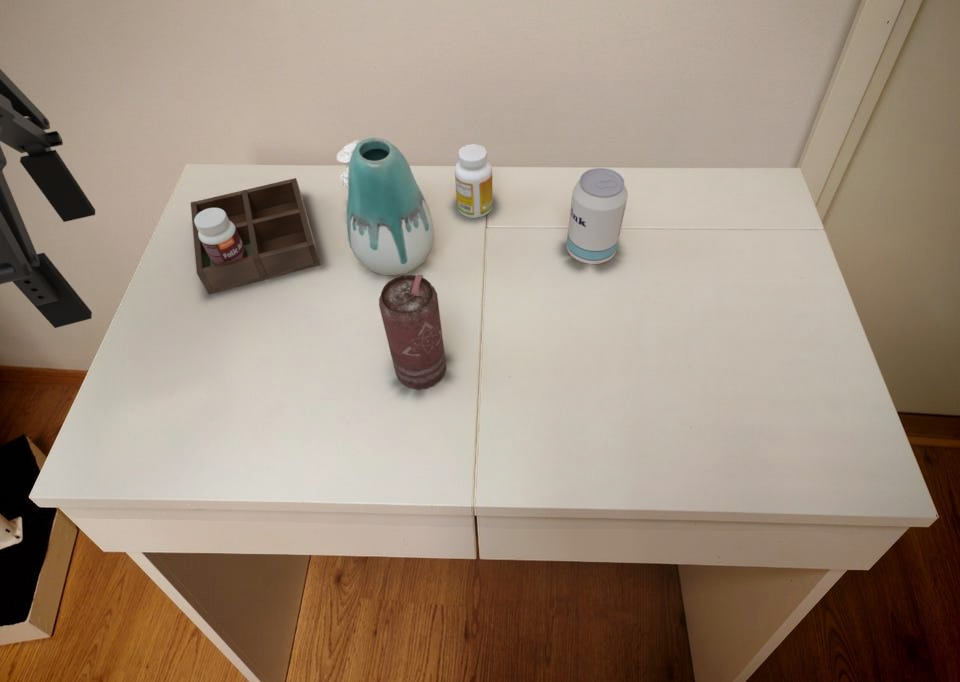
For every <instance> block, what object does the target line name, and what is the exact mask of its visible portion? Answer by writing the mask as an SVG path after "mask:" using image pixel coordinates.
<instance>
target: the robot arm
mask: <svg viewBox="0 0 960 682" xmlns="http://www.w3.org/2000/svg"><path fill="white" fill-rule="evenodd" d="M50 129H51V125H50V120H49V119H48V118H47V117H46V116H45V114H44V113H43V112H42V111H41V110H40V108H39V107H37V106H36V105H35V104H34V103H33V102H32V101H31V100H30V98H28V97H27V95H26V94H25V93H24V92H23V91H22V90H21V89H20V88H19V87H18V86H17V84H15V83H14V82H13V80H11V78H10V77H8V75H7V74H6V73H5V72H4V71H3V70H2V69H1V68H0V143H3V144H4V145H6V146H8V147H10V148H11V149H13V150H15V151H16V152H18V153H20V154H24V153H26V154H27V155H23V156H20V158H19V163H20V164H21V165H22V167H23V168H24V170H25V171H26V172H27V174H28V175H29V176H30V178H31V179H32V181H33V182H34V183H35V185H36V186H37V188H38V189H39V191H40V192H41V193H42V194H43V195H44V197H45V199H46V200H47V201H48V203H49V204H50V205H51V207H52V208H53V209H54V211H55V212H56V214H57V215H58V216H59V218H60V219H61V220H62V222H63V223H66V222H70V221H76V220H79V219H83V218H89V217H93V216H96V209H95V207H94V206H93V204H92V203H91V201H90V200H89V198H88V197H87V195H86V193H85V192H84V191H83V189H82V188H81V186H80V185H79V183H78V181H77V180H76V178H75V177H74V175H73V174H72V173H71V171H70V170H69V168H68V166H67V165H66V163H65V162H64V160H63V158H62V157H61V155H60V154H59V153H58V152H57V150H56V149H53V150H52V149H51V148H55V147H59V146H63V144H64V143H63V138H62V137H61V134H60V132H58V131H57V130H54V131H49V132H47V131H46V130H50ZM7 163H8V161H7V158H6V155H5V153H4V151H3V149H2V146H1V145H0V285H3V284H7V283H11V282H12V283H13V284H14V285H15V286H16V287H17V288H18V290H19V291H20V292H21V293H22V294H23V295H24V296H25V297H26V298H27V300H28V301H29V302H30V303H32V305H33V306H34V307H35V309H36V310H38V312H39V313H40V314H41V315H42V316H43V317H44V318H45V319H46V321H48V322H49V323H50V325H51V326H52V327H53V328H54V329H57V328H62V327H65V326H68V325H73V324H76V323H80V322H84V321H87V320H91V319H92V316H93V315H92V314H93V313H92V310H91V309H90V308H89V306H88V305H87V304H86V303H85V302H84V300H83V299H82V298H81V297H80V295H79V294H78V293H77V291H76V290H75V289H74V288H73V286H72V285H71V284H70V283H69V281H68V280H67V279H66V278H65V277H64V275H63V274H62V273H61V271H60V270H59V269H58V267H56V266H55V264H54V263H53V262H52V261H51V260H50V258H49V257H48V256H47V254H46V253H45V252H41V253H37V251H36V249H35V245H34V243H33V240H32V239H31V237H30V234H29V232H28V229H27V227H26V224H25V222H24V220H23V218H22V215H21V213H20V210H19V208H18V205H17V203H16V200H15V198H14V196H13V193H12V191H11V188H10V186H9V184H8V181H7V179H6V177H5V174H4V172H3V170H4V169H5V167H6V166H7Z"/></svg>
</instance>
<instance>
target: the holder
mask: <svg viewBox="0 0 960 682" xmlns="http://www.w3.org/2000/svg"><path fill="white" fill-rule="evenodd" d="M208 208H220V209H222V210H224V211H225V213H226V215H227V217H228V219H229V221H231V222H232V223H233V224H234V225H235V227H236V229H237V232H238V234H239V236H240V238H241V240H242V243H243V245H244V247H245V249H246V251H247V254H248V256H249V257H245V258H241V259H237V260H233V261H229V262H225V263H222V264H218V265H213V263H212V261H211V259H210V258H209V256H208V254H207V252H206V250H205V248H204V246H203V244H202V243H201V241H200V239H199V236H198V232H199V231H198V230H197V227H196V225H195V223H194V219H195V217H196V215H197V214H198V213H200V212H201V211H203V210H205V209H208ZM190 211H191V212H190V213H191V226H192V235H193V248H194V259H195V269H196V275H197V276H198V277H197V278H199V280H200V282H201V283H202V285H203V287H204V289H205V291H206V292H207V294H208V295H211V294H214V293H218V292H222V291H226V290H230V289H234V288H237V287H241V286H245V285H248V284H253V283H256V282H261V281H265V280H268V279H272V278H275V277H279V276H283V275H286V274H291V273H295V272H299V271H302V270H306V269H310V268H313V267H317V266H318V267H319V266H321V260H320V257H319V252H318V249H317V245H316V242H315V238H314V235H313V230H312V227H311V223H310V220H309V217H308V213H307V209H306V204H305V201H304V197H303V194H302V191H301V188H300V186H299V183H298V180H297V178H296V177H295V178H290V179H285V180H281V181H277V182H272V183H269V184H264V185H260V186H255V187H250V188H247V189H242V190H239V191H234V192H230V193H225V194H221V195H217V196H213V197H208V198H204V199H200V200H199V199H198V200H194V201H191V202H190Z"/></svg>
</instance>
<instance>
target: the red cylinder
mask: <svg viewBox="0 0 960 682" xmlns="http://www.w3.org/2000/svg"><path fill="white" fill-rule="evenodd" d="M378 308H379V311H380V315H381V320H382V323H383V327H384V331H385V334H386V336H385V337H386V340H387V344H388V347H389V351H390V356H391V359H392V365H393V368H394V372H395V375H396V377H397V380H398V381H399V382H400V383H401V384H402V385H403V386H405V387H407V388H410V389H413V390H427V389H429V388H432V387H434V386H435V385H437V384H438V383H439V382H441V380H442V379H443V378H444V376H445V374H446V372H447V371H446V370H447V361H446V354H445V346H444V338H443V330H442V320H441V313H440V306H439V298H438V292H437V291H436V289H435V287H434V285H432V283H431V282H430V281H429V280H428V279H426V278H425V277H424V275H423V274H417V275H416V274H401V275H398V276H395V277H394V278H392V279H390V280H389V281H388V282H387V283H386V284H385V285H384V286H383V287H382V290H381V292H380V296H379V298H378Z"/></svg>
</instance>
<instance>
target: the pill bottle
mask: <svg viewBox="0 0 960 682" xmlns="http://www.w3.org/2000/svg"><path fill="white" fill-rule="evenodd" d="M194 223H195V225H196V227H197V230H198V231H199V232H198V236H199V239H200V241H201V243H202V244H203V246H204V248H205V250H206V252H207V254H208V256H209V258H210V259H211V261H212V263H213V265H218V264H222V263H225V262H229V261H233V260H237V259H241V258H245V257H249V256H248V254H247V251H246V249H245V247H244V245H243V243H242V240H241V238H240V236H239V234H238V232H237V229H236V227H235V225H234V224H233V223H232V222H231V221H229V219H228V217H227V215H226V213H225V211H224V210H222V209H220V208H208V209H205V210H203V211H201V212H200V213H198V214H197V215H196V217H195V219H194Z"/></svg>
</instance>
